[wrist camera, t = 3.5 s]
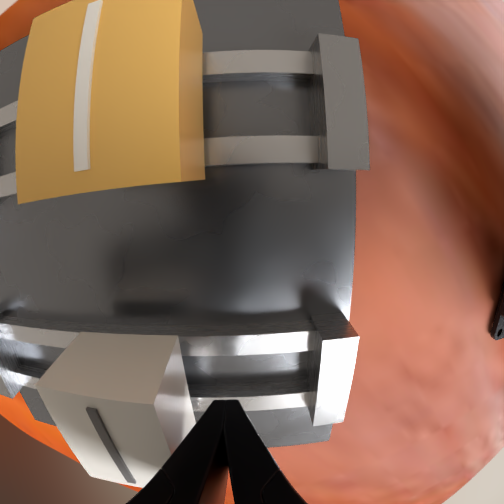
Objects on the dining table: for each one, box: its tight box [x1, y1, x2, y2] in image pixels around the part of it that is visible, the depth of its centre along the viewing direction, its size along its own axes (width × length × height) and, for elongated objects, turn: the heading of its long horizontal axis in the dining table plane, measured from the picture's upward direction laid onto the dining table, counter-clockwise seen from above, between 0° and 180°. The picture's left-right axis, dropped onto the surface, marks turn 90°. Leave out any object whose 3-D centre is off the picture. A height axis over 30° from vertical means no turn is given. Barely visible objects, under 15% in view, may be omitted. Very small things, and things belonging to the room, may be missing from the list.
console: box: [0, 0, 370, 448], centre depth 9 cm, size 17×20×3 cm
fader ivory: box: [35, 332, 196, 488], centre depth 8 cm, size 4×4×5 cm
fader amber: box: [15, 0, 205, 204], centre depth 6 cm, size 4×4×5 cm
